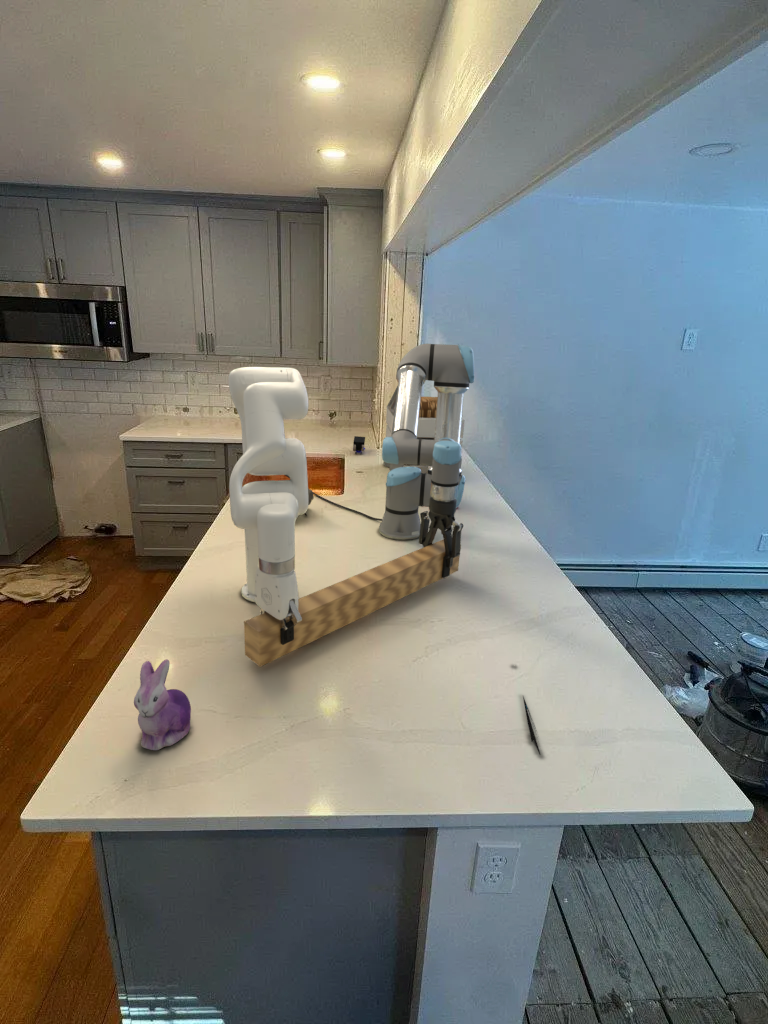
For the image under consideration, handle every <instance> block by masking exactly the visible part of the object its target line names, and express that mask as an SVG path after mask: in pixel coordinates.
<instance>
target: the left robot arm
mask: <svg viewBox="0 0 768 1024" xmlns="http://www.w3.org/2000/svg"><path fill="white" fill-rule="evenodd" d="M227 380H228V390H229V394H230V398H231V400H232V403H233V405H234V407H235V409H236V412H237V414H238V416H239V417H238V418H239V420H240V428H241V442H242V444H241V445H242V455H241V456H240V457H239V459H238V460H237V461H236V463H235V464H234V466H233V468H232V470H231V473H230V476H229V477H230V478H229V483H228V485H229V486H228V489H229V491H228V492H229V493H228V494H229V509H230V517H231V521H232V523H233V525H234V526H235V527H236V528H237V529H241V530H243V531H244V545H245V548H244V549H245V568H246V569H245V570H246V583H245V584H244V585H243V586H242V587H241V589H240V591H241V596H242V598H244V599H245V600H247V601H249V602H253V603H255V604H256V605H257V607H259V608H260V614H263V613H265V612H267V613H269V614H270V615H272V616H273V617H275V618H277V619H279V620H281V624H282V628H281V629H280V637H281V644H282V645H284V644H286V643H288V642H290V641H293V640H294V626H295V625H296V624H297V623H299V622H300V621H302V618H301V616H300V614H299V611H298V599H299V589H298V581H297V573H296V571H295V570H296V541H295V540H296V532H295V531H296V522H297V521H296V520H297V519H298V518H299V516H302V515H305V514H304V513H307V511H308V509H309V505H308V501H309V499H308V488H309V478H308V461H307V452H306V448H305V445H304V443H303V441H302V440H300V439H299V438H296V437H286V434H285V422H284V420H302V419H304V418H305V417H307V415H308V412H309V406H310V405H309V394H308V390H307V387H306V384H305V382H304V380H303V377H302V374H301V372H300V371H299V370H298V369H296V368H294V367H282V366H281V367H279V366H278V367H277V366H276V367H275V366H270V367H269V366H242V367H237V368H235V369H232V370H231V371H230V372H229V374H228V379H227ZM247 475H251V476H262V477H263V476H285V475H288V476H289V477H290V478H289V479H281V480H275V479H274V480H256V481H255V480H254V481H250V482H248V483H246V484H243V483H244V479H245V477H246V476H247ZM286 617H289V619H290V621H288V622H287V623H286V619H285V618H286Z"/></svg>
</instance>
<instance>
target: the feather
mask: <svg viewBox="0 0 768 1024" xmlns="http://www.w3.org/2000/svg"><path fill="white" fill-rule="evenodd" d="M513 666H514V667H515V666H516V665H515V664H514V665H513ZM522 699H523V706H524V711H525V717H526V722H527V726H528V732H529V737H530V739H531V741H530V742H531V743H533V742H534V746H535V747H536V750H537V752H538V754H539V755H541V752H540V749H539V745H538V742H537V741H538V740H537V739H536V738H537V737H536V736H538V731H537V728H536V725H535V722H534V720H533V717H532V716H531V713H530V709H529V707H528V704H527V702H526V698H525V697H524V696H522ZM534 731H535V732H534Z"/></svg>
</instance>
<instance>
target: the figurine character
mask: <svg viewBox="0 0 768 1024" xmlns="http://www.w3.org/2000/svg"><path fill="white" fill-rule="evenodd" d="M365 442H366V436H358V435H354V436H353V444H352V451H353V452H355V454H354V455H357V453H358V454H360V455H362V454H363V452H365V450H366V447H365Z"/></svg>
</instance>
